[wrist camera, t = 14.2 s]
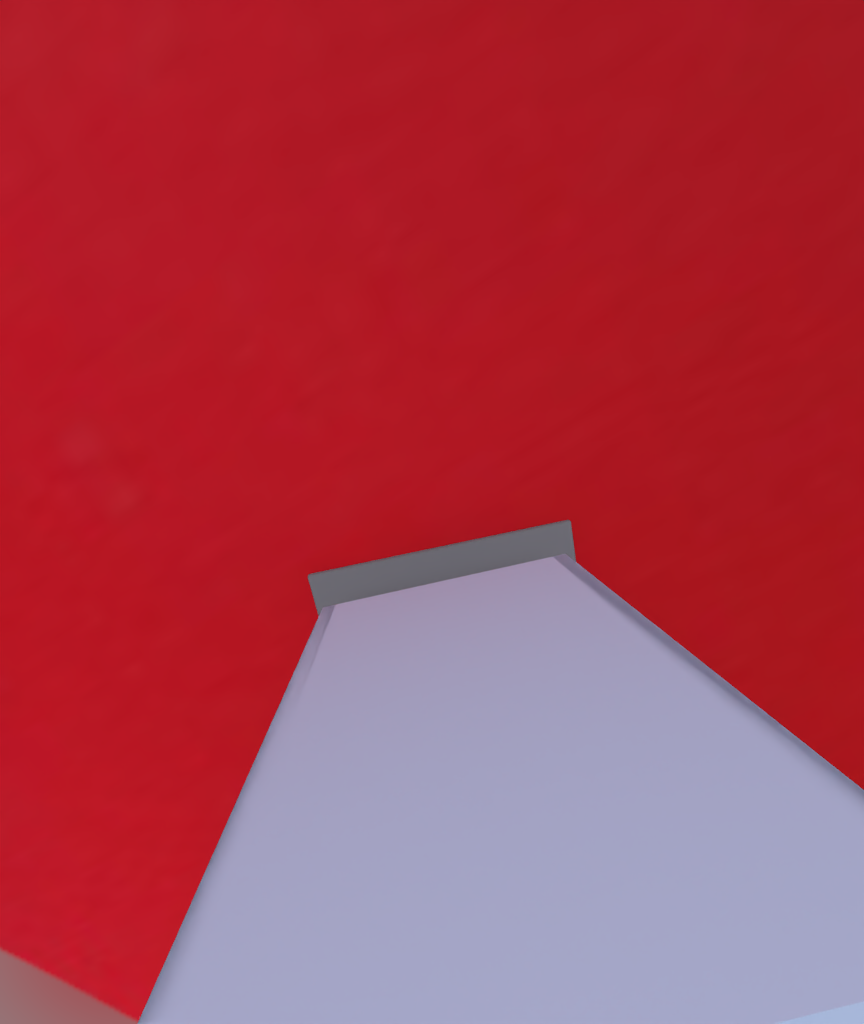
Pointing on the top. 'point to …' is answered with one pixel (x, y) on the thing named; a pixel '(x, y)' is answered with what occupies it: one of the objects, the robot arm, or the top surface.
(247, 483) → the top surface
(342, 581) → the tape square
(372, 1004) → the periwinkle rectangular block
